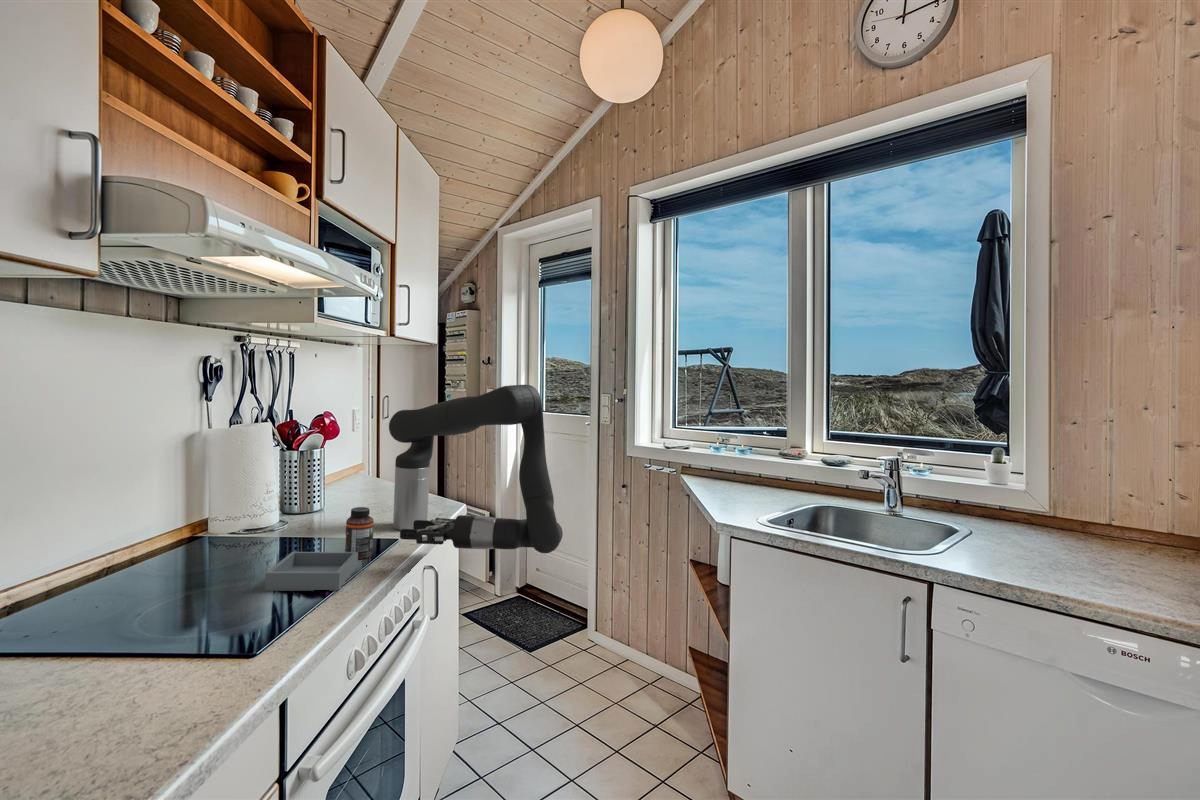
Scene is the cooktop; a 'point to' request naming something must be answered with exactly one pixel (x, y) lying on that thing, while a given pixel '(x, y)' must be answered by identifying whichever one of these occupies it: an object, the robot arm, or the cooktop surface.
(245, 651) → the cooktop surface
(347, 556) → the tray
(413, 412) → the robot arm
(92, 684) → the cooktop surface
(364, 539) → the supplement bottle
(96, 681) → the cooktop surface
